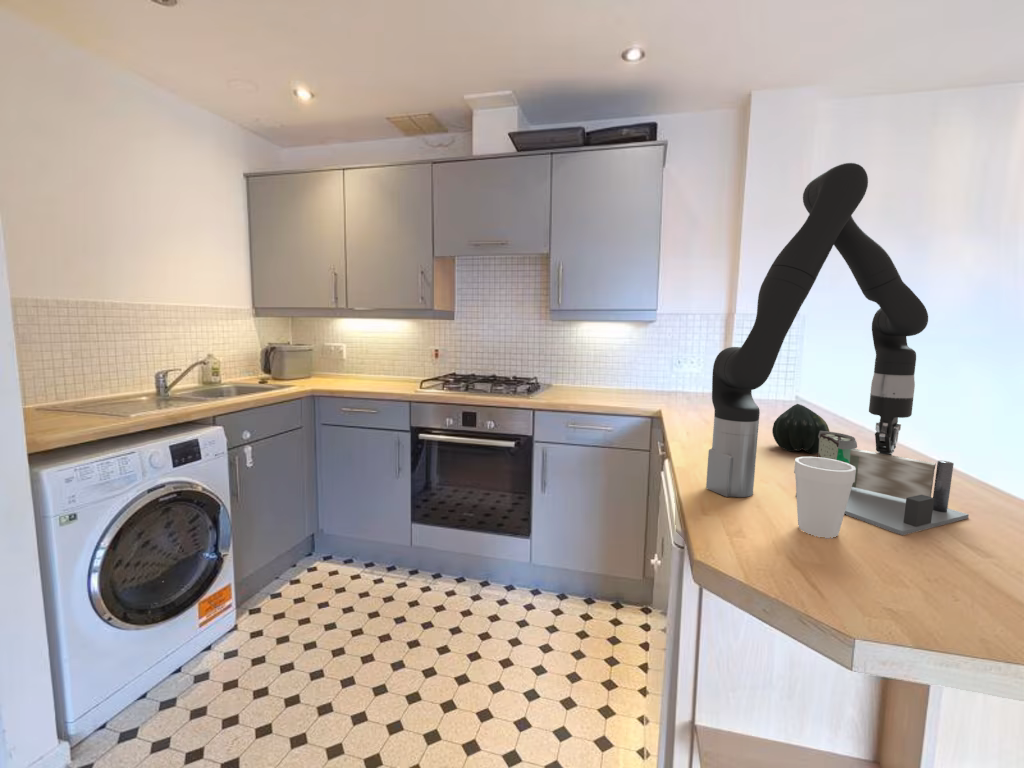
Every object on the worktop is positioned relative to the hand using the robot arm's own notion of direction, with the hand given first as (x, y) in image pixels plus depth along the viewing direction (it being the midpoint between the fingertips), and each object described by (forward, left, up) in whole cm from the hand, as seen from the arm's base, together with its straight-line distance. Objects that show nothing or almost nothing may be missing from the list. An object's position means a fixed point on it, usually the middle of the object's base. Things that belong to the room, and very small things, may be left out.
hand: (883, 469), depth 107 cm
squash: (+19, +34, -6) cm, 40 cm away
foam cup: (-33, -8, -6) cm, 34 cm away
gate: (-3, -3, -4) cm, 6 cm away
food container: (+7, +14, -6) cm, 17 cm away
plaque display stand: (-9, -4, -6) cm, 12 cm away
